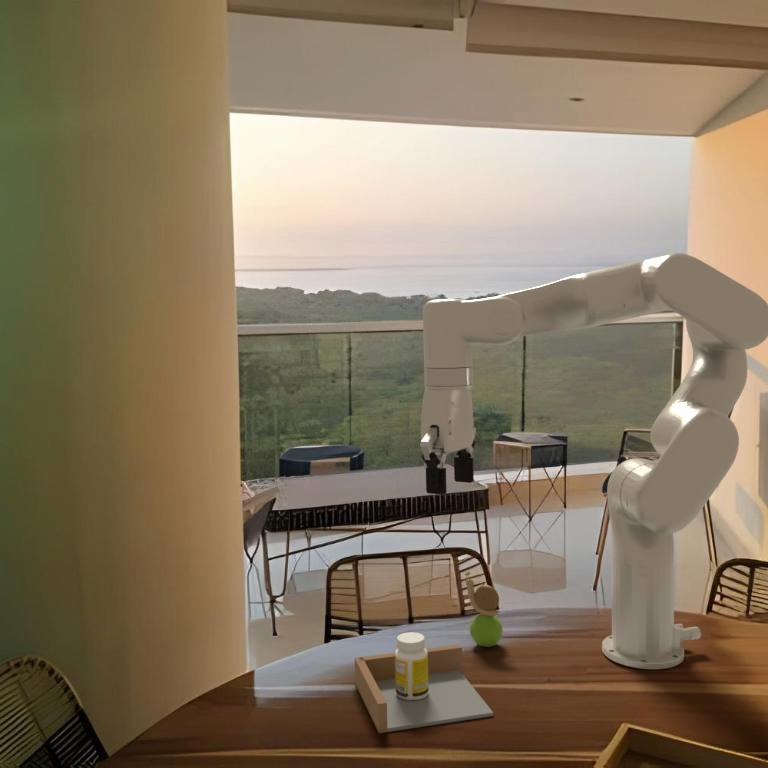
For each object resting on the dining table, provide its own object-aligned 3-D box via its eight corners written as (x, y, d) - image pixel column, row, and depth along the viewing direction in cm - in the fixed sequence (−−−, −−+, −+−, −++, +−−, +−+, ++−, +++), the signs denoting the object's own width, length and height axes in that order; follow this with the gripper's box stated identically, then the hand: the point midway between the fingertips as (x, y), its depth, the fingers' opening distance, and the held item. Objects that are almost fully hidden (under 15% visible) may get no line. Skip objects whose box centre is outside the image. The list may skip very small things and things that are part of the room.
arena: (459, 669, 124) (459, 644, 123) (496, 715, 109) (496, 687, 109) (355, 683, 120) (354, 657, 119) (378, 733, 105) (378, 704, 105)
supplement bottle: (430, 687, 117) (429, 631, 116) (426, 702, 112) (425, 644, 111) (398, 685, 117) (397, 630, 117) (393, 700, 113) (392, 643, 112)
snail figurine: (475, 635, 137) (473, 567, 136) (508, 643, 133) (507, 573, 132) (459, 646, 132) (457, 576, 132) (493, 654, 129) (492, 582, 128)
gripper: (451, 374, 132) (453, 476, 133) (399, 382, 117) (402, 496, 119) (493, 375, 128) (494, 479, 130) (445, 383, 114) (447, 501, 115)
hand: (450, 487), depth 124 cm, fingers open, 9 cm apart
